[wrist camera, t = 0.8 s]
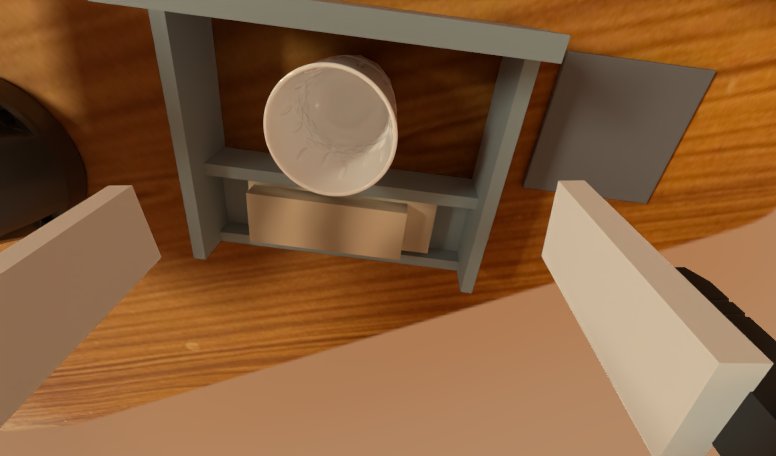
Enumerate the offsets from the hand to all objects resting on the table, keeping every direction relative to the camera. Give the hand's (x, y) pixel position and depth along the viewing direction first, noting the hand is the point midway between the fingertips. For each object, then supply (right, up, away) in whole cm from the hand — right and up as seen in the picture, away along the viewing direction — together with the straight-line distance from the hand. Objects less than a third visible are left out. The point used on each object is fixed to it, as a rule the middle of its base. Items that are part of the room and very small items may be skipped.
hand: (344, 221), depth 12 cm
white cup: (-1, +10, +19) cm, 21 cm away
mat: (+19, +8, +19) cm, 28 cm away
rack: (-2, +7, +20) cm, 22 cm away
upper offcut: (-4, +1, +21) cm, 21 cm away
